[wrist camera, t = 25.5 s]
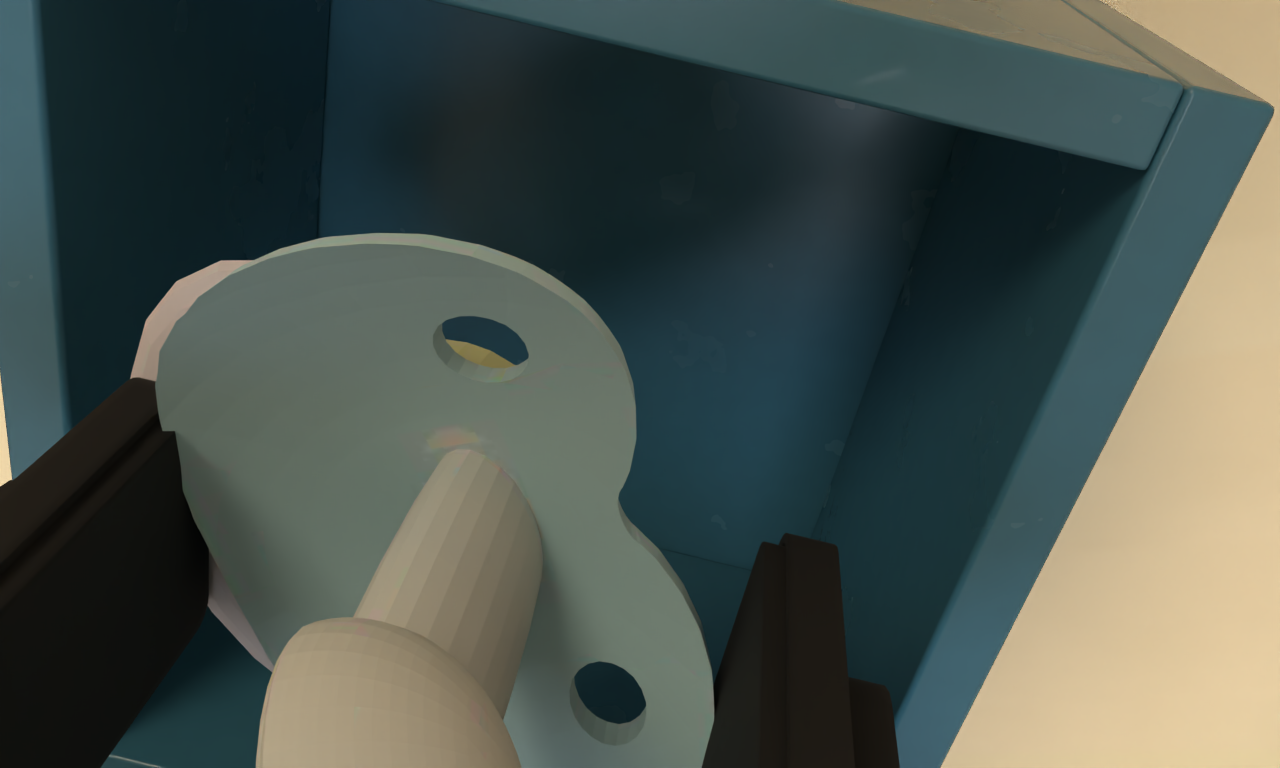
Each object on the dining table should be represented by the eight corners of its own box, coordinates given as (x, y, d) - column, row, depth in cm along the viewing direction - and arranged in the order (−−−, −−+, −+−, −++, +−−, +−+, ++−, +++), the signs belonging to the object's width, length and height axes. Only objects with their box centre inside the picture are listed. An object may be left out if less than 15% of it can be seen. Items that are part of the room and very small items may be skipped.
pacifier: (321, 731, 14) (756, 697, 13) (23, 1301, 9) (710, 1356, 7) (53, 235, 11) (594, 114, 10) (-670, 663, 6) (309, 536, 4)
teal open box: (311, -205, 18) (-71, -215, 10) (1057, -28, 18) (1282, 107, 10) (281, 463, 25) (42, 776, 17) (821, 593, 25) (839, 970, 17)
